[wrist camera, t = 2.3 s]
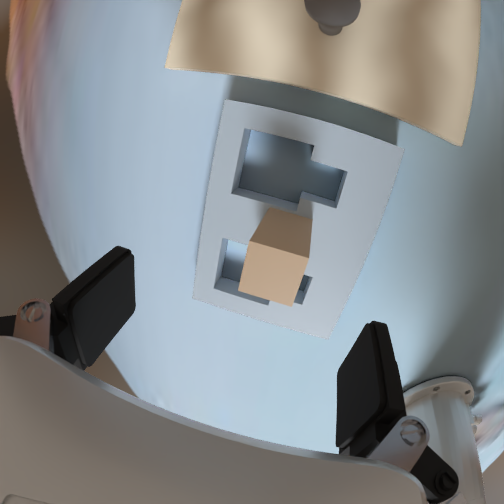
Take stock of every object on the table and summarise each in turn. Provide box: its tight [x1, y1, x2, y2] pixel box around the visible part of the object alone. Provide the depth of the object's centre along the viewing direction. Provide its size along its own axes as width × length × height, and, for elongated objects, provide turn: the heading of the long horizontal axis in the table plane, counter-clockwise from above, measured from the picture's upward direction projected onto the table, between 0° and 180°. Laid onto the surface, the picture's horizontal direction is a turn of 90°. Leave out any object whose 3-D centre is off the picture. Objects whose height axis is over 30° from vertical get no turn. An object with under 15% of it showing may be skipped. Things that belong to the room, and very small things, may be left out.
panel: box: [192, 99, 405, 339], centre depth 18 cm, size 12×16×8 cm
